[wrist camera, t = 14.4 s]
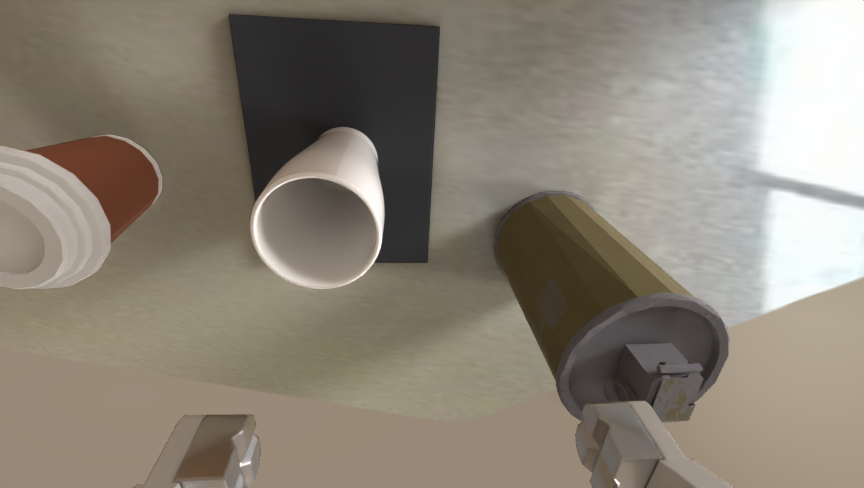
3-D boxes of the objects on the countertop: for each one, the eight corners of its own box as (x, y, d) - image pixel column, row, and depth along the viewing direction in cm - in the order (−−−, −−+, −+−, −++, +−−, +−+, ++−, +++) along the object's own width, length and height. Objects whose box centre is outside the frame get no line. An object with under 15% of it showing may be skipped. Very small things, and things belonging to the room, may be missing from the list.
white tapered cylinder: (363, 101, 33) (344, 147, 19) (400, 177, 36) (405, 263, 22) (287, 137, 33) (218, 205, 20) (329, 208, 36) (293, 309, 23)
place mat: (230, 14, 30) (228, 14, 29) (439, 26, 31) (439, 26, 31) (265, 260, 39) (264, 262, 38) (427, 260, 40) (427, 262, 40)
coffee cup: (138, 100, 32) (8, 134, 21) (201, 207, 36) (120, 280, 25) (29, 136, 32) (-152, 187, 21) (104, 237, 36) (-16, 322, 26)
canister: (499, 189, 37) (598, 330, 20) (610, 190, 38) (801, 324, 21) (488, 291, 42) (558, 478, 24) (586, 289, 43) (723, 468, 25)
